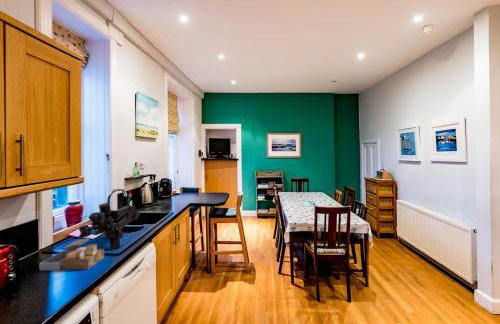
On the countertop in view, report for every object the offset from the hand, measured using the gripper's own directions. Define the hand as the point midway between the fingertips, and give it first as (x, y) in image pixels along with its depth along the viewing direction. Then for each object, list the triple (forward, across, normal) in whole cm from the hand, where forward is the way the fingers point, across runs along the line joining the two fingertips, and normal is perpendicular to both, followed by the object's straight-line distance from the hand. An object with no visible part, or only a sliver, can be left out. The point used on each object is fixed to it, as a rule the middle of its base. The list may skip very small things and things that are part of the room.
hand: (87, 235), depth 133 cm
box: (0, -21, +13) cm, 24 cm away
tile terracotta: (+2, -10, +9) cm, 14 cm away
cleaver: (-24, -34, +15) cm, 44 cm away
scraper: (-1, -3, +11) cm, 12 cm away
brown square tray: (0, -8, +15) cm, 17 cm away
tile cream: (-4, -10, +10) cm, 15 cm away
